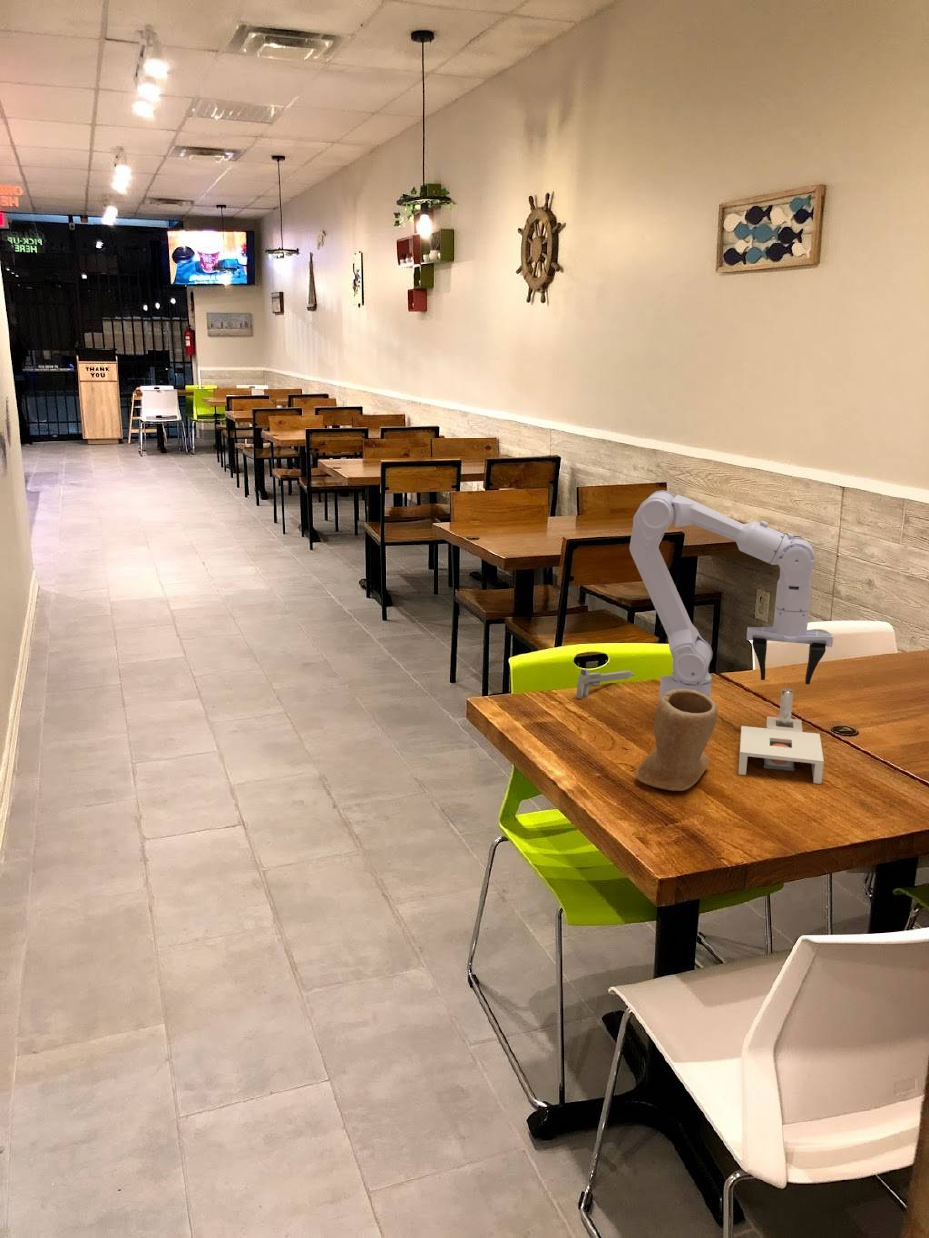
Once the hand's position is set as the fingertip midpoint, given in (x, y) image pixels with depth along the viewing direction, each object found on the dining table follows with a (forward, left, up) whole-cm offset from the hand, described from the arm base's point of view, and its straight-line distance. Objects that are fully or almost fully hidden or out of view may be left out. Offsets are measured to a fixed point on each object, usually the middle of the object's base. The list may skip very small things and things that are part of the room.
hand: (785, 680), depth 174 cm
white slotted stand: (0, -14, -10) cm, 18 cm away
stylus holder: (+1, -1, -10) cm, 10 cm away
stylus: (+1, -1, -10) cm, 10 cm away
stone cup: (-16, -24, -11) cm, 31 cm away
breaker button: (0, -14, -10) cm, 18 cm away
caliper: (-34, +17, -11) cm, 40 cm away
